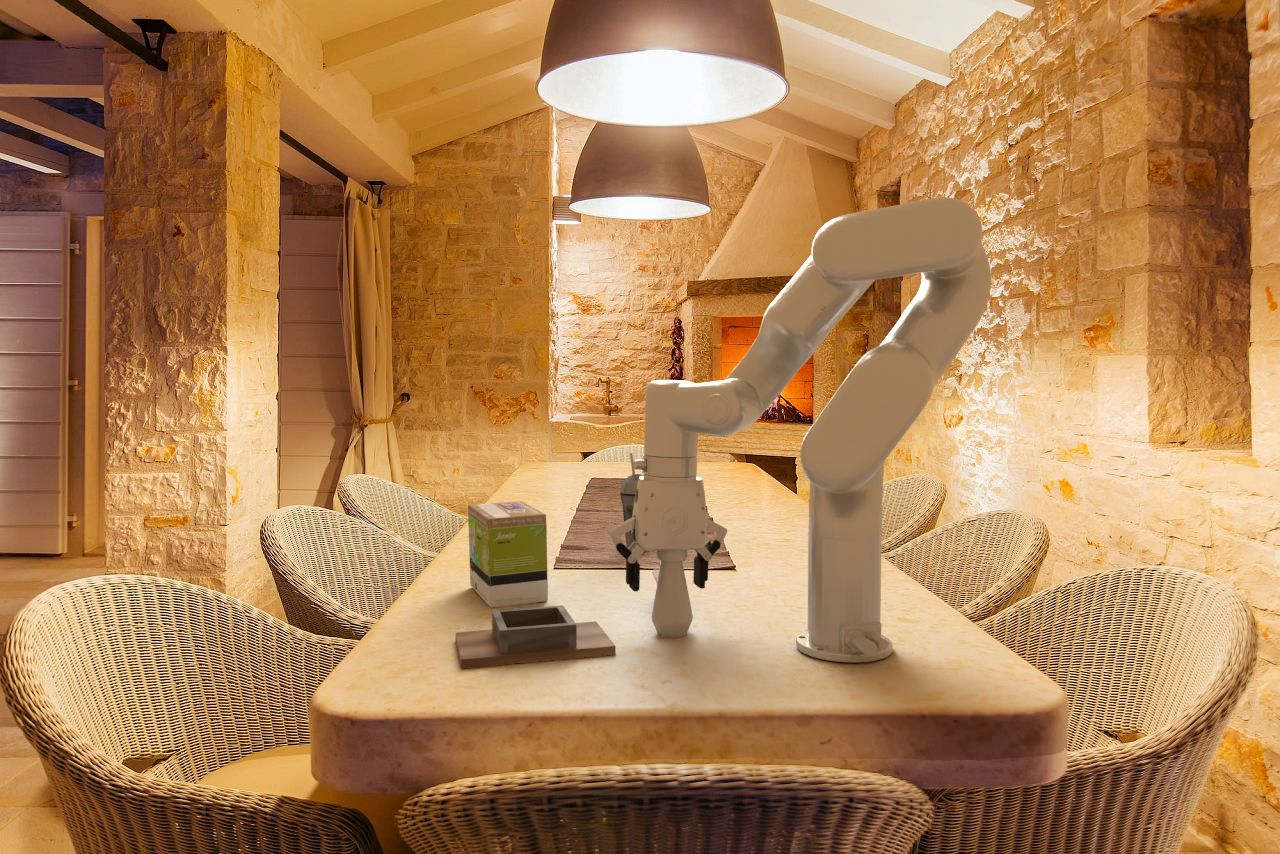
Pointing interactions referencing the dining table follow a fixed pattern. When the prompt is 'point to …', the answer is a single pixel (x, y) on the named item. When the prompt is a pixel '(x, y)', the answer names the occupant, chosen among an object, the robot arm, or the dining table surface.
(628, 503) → the beverage cup
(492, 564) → the tea box
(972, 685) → the dining table surface
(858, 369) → the robot arm
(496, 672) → the dining table surface
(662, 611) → the salt shaker
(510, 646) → the stand
